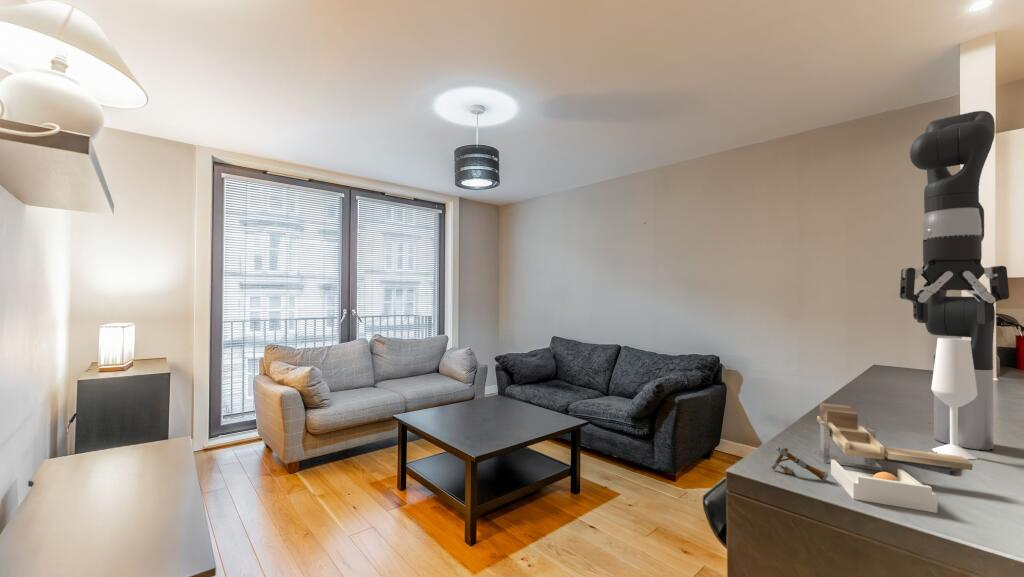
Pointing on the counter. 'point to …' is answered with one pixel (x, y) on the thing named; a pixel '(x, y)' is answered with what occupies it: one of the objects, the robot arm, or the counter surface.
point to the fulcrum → (841, 457)
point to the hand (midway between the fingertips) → (952, 323)
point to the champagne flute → (954, 385)
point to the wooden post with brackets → (799, 462)
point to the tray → (886, 489)
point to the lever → (866, 445)
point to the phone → (927, 466)
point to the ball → (885, 476)
